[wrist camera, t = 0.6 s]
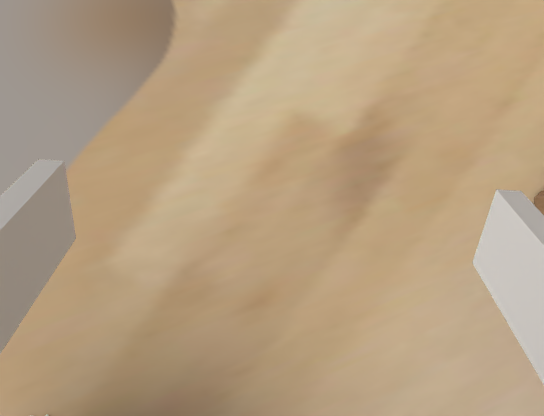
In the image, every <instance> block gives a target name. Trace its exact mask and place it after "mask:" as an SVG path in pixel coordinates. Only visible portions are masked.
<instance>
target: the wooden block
mask: <svg viewBox="0 0 544 416" xmlns="http://www.w3.org/2000/svg"><path fill="white" fill-rule="evenodd" d="M534 204H535V207H536V208H537V209H538V210H539V211H540V212H541V213H542V214H543V215H544V191H541V192H540V193H539V194H538V195H537V196H536V197H535V198H534Z"/></svg>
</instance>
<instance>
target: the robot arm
mask: <svg viewBox="0 0 544 416" xmlns="http://www.w3.org/2000/svg"><path fill="white" fill-rule="evenodd" d="M75 239H76V235H75V228H74V222H73V215H72V209H71V202H70V195H69V189H68V182H67V176H66V169H65V162H64V161H58V160H42V159H38V160H37V161H36V162H35V163H34V164H33V165H32V166H31V167H30V168H29V169H28V170H27V171H26V172H25V173H24V174H23V175H21V177H19V178H18V179H17V180H16V181H15V182H14V183H13V184H12V185H11V186H10V187H9V188H8V189H7V190H6V191H5V192H4V193H3V194H2V195H1V196H0V354H1V352H2V350H3V349H4V347H5V346H6V344H7V343H8V341H9V340H10V338H11V337H12V335H13V334H14V332H15V331H16V329H17V327H18V326H19V324H20V323H21V321H22V320H23V318H24V317H25V315H26V314H27V312H28V311H29V309H30V308H31V306H32V305H33V303H34V301H35V300H36V298H37V297H38V295H39V294H40V292H41V291H42V289H43V288H44V286H45V285H46V283H47V282H48V280H49V279H50V277H51V275H52V274H53V272H54V271H55V269H56V268H57V266H58V265H59V263H60V262H61V260H62V259H63V257H64V256H65V254H66V253H67V251H68V249H69V248H70V246H71V245H72V243H73V242H74V240H75ZM472 263H473V265H474V266H475V268H476V270H477V272H478V273H479V275H480V277H481V278H482V280H483V282H484V284H485V285H486V287H487V289H488V290H489V292H490V294H491V296H492V297H493V299H494V301H495V302H496V304H497V306H498V308H499V309H500V311H501V313H502V314H503V316H504V318H505V320H506V321H507V323H508V325H509V326H510V328H511V330H512V331H513V333H514V335H515V337H516V338H517V340H518V342H519V343H520V345H521V347H522V349H523V350H524V352H525V354H526V355H527V357H528V359H529V361H530V362H531V364H532V366H533V367H534V369H535V371H536V373H537V374H538V376H539V378H540V379H541V381H542V383H543V385H544V215H543V214H542V213H541V212H540V211H539V210H538V209H537V208H536V207H535V206H534V204H533V203H532V202H531V201H530V200H529V199H528V198H527V197H526V196H525V195H524V194H523V193H522V192H521V191H512V190H497V189H496V192H495V195H494V198H493V201H492V204H491V207H490V210H489V214H488V217H487V220H486V223H485V226H484V229H483V232H482V235H481V238H480V241H479V244H478V247H477V250H476V253H475V256H474V259H473V262H472Z"/></svg>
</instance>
